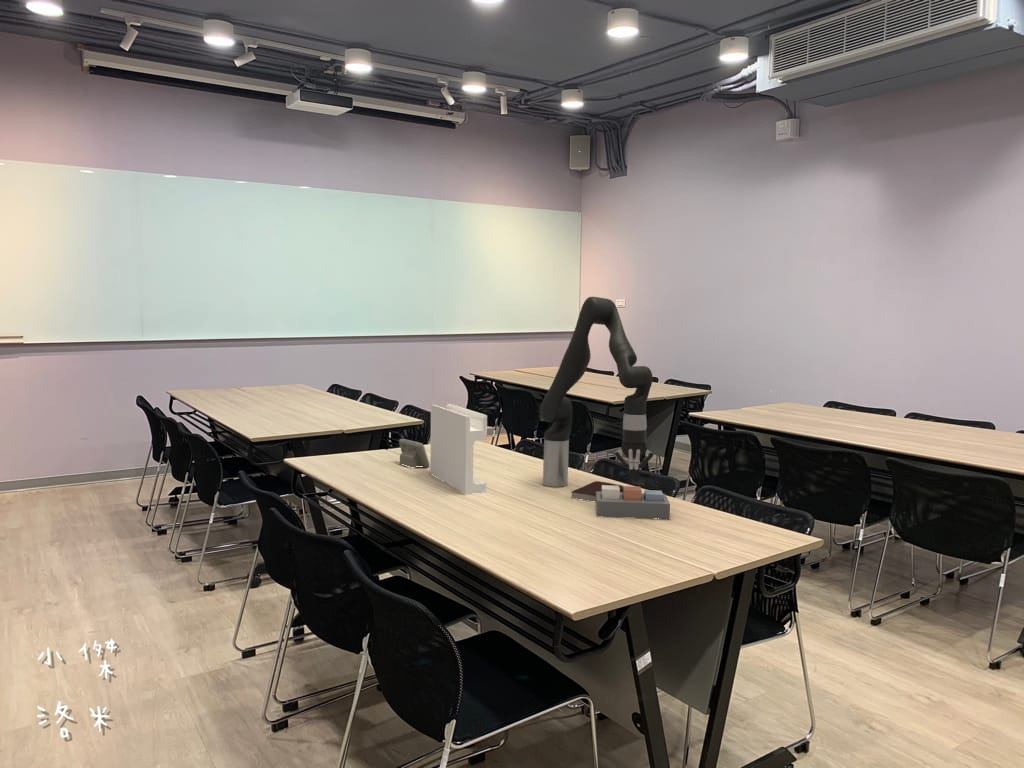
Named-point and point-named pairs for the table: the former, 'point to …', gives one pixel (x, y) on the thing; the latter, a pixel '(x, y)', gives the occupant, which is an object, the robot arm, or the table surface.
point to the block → (456, 446)
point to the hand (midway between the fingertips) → (633, 480)
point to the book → (591, 490)
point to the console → (632, 507)
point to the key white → (610, 492)
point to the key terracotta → (632, 493)
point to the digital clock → (413, 453)
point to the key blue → (653, 495)
